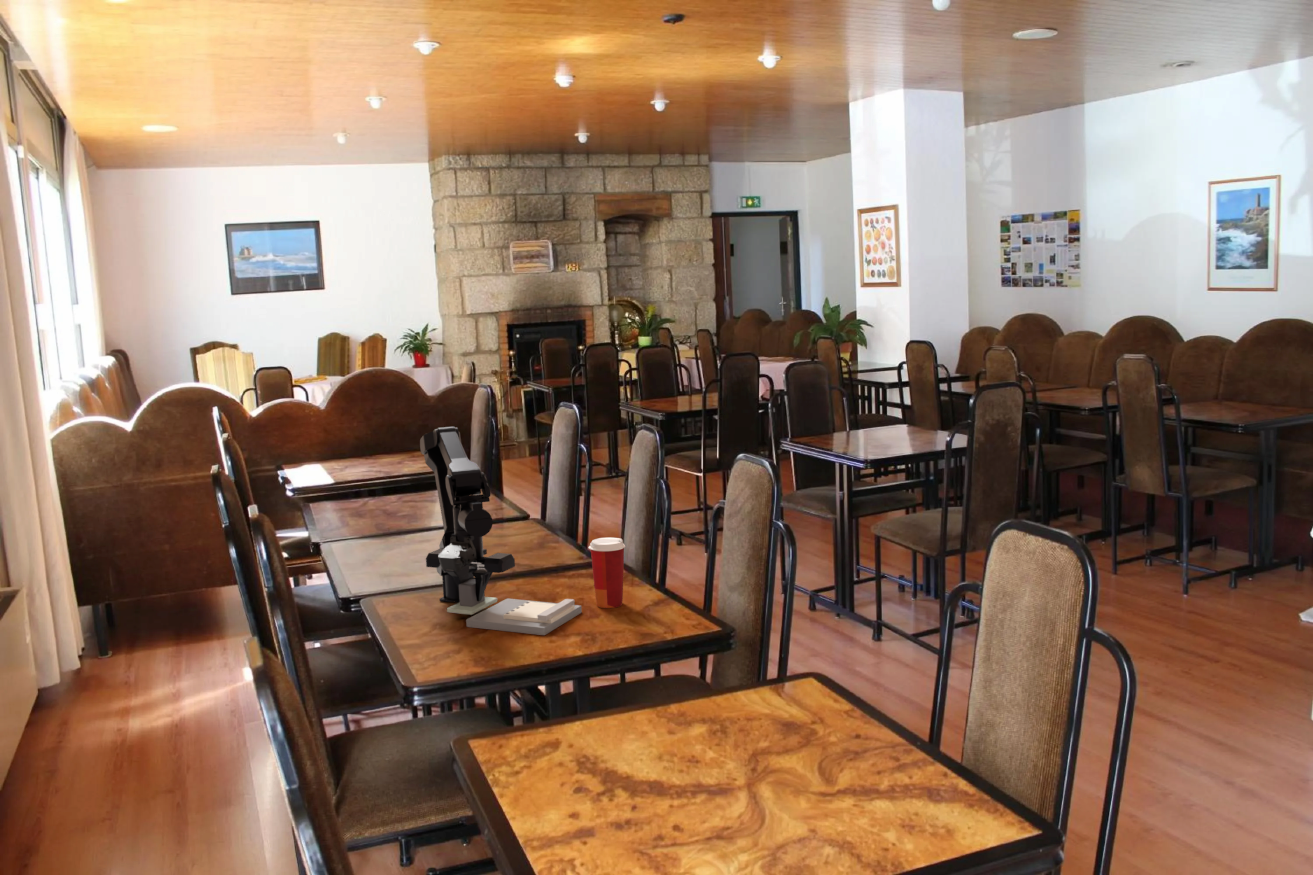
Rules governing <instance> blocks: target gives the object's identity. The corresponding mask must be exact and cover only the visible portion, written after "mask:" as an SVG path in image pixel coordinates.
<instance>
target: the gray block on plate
mask: <svg viewBox="0 0 1313 875" xmlns="http://www.w3.org/2000/svg"><path fill="white" fill-rule="evenodd" d="M459 600H460V602H459V603H454V604H453V605H451V606H449V607H447V608H446V612H447V613H453V614H461V615H470V616H472V615H475V614H477V613H479V612H481V611H483V610H485V609H487V608H489V606H490V607H491V605H492V606H493V604H494V605H495V603H496V604H497V602H498V597H492V596H485V591H484V594H483V597H482V599H481V601H477V598H476V583H475V579H470V580H468V581H466V582H464V583H461V584H459Z"/></svg>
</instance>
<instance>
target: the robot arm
mask: <svg viewBox="0 0 1313 875" xmlns="http://www.w3.org/2000/svg"><path fill="white" fill-rule="evenodd" d="M419 447H420V448H419V449H420V453H421V455H423V457H424V462H425V464H426V466H427V467H428V468H430V470H432V472H433V473H434V477H435V479H434V480H435V484H436V485H435V486H436V490H437V495H438V496H437V497H438V502H439V508H440V513H441V514H440V515H441V520H442V525H443V532H444V533H443V535H442V537H441V540H440V543H439V548H437V549H436V550H432V551H430V552H428V554H426V556H425V566H426V568H435V569H436V573H438V574H439V576H441V579H442V592H443V593H442V595H443V596H441V597H440V598H439V599H438V600H439V601H440V602H447V603H448V602H449V603H455V604H457V603H459V602H460V600H459V584H461V583H464V582H466V581H468V580H470V579H475V583H476V598H477V601H481V599H482V597H483V594H484V592H485V591H486V588H487V585H488V583H489V581H490V578H491V576H492V575H493V573H494V574H495V573H496V574H501V573H504V572H506V571H509V570H510V569H513V568H515V567H516V561H515V560H516V559H515V557H514V555H513V554H512V553H505V552H504V553H503V552H497V553H494V554H492V555H489V556H485V555H487V554H488V550H487V548H484V540H483V539H484V538H483V537H484V536H486V535H487V534H488V533H490V531H491V530H492V528H493V522H494V520H493V518H492V515H491V514H490V513H489V511H487V510H486V509H484V505H483V503H488V502H489V503H490V497H491V490H490V486H489V483H488V479H487V476H485V473H484V472H483V471H482V470H481V467H480V466H479V465H478V464H477V462H474V461H472V460H470V459H469V458H468V455H467V453H466V451H465V449H464V447H463V444H462V439H461V432H460V431H459V428H458V427H455V426H445V427H444V426H443V427H437V428H434V430H433V431H430V432H428V433H425V434H423V435H422V437H420V440H419Z"/></svg>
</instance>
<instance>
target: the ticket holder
mask: <svg viewBox="0 0 1313 875" xmlns="http://www.w3.org/2000/svg"><path fill="white" fill-rule="evenodd" d="M580 614H582V605H579V604H575V599H573V598H565V599H563V600H562V601H559V602H557V603H556V602H550V601H549V602H548V601H539V600H538V601H536V600H528V599H527V600H526V599H517V598H509V597H508V598H505V599H504V600H501V601H500V602H498V603H497V602H496V604H495V603H494V605H492V606H490V607H487V608H485V609H483V610H481V611H479V612H477V613H475V614H473V616H472V615H471V617H468V618H467V619H466V620H465V622H466V627H467V628H473V629H475V628H476V629H483V630H484V629H485V630H493V631H499V632H501V631H502V632H511V633H519V634H531V635H538V636H539V635H540V636H545V635H547V634H549V633H551V632H552V631H554V630H555V629H558V627H560V626H562V625H564V624H565V623H567V622H569V621H570V620H572V619H573V618H576V616H579V615H580Z"/></svg>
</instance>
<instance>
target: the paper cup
mask: <svg viewBox="0 0 1313 875" xmlns="http://www.w3.org/2000/svg"><path fill="white" fill-rule="evenodd" d="M625 548H626V545H625V544H624V540H623V539H622V538H619V537H610V536H609V537H599V538H595V539H592V541H591V542H590V543H589V546H588V549H589V550H590V555H591V557H590V558H591V566H592V576H593V578H592V579H593V585H594V594H595V595H594V596H595V603H596V604H595V605H596V607H597V608H601V609H615V608H619V607H622V605H623V598H624V566H625V564H624V563H625Z"/></svg>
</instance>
